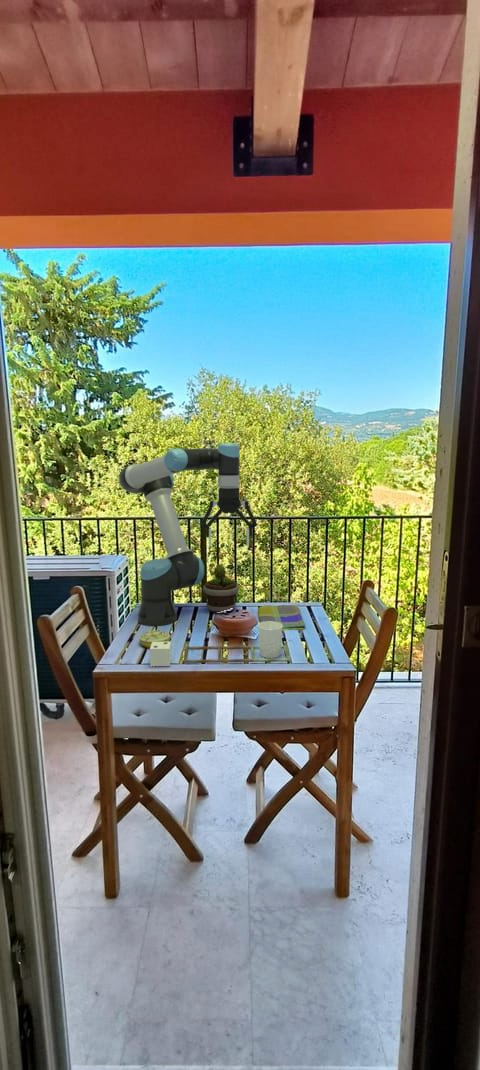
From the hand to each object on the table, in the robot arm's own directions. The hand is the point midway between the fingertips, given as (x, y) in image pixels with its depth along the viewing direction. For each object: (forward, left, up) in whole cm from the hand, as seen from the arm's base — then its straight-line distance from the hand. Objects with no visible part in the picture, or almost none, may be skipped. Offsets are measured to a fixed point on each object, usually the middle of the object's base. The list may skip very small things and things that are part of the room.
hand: (229, 545), depth 194 cm
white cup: (+13, -24, -32) cm, 42 cm away
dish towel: (+20, +11, -32) cm, 40 cm away
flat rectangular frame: (+2, -24, -32) cm, 40 cm away
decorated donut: (-26, -13, -32) cm, 43 cm away
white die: (-22, -30, -32) cm, 49 cm away
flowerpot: (-3, +23, -32) cm, 39 cm away
